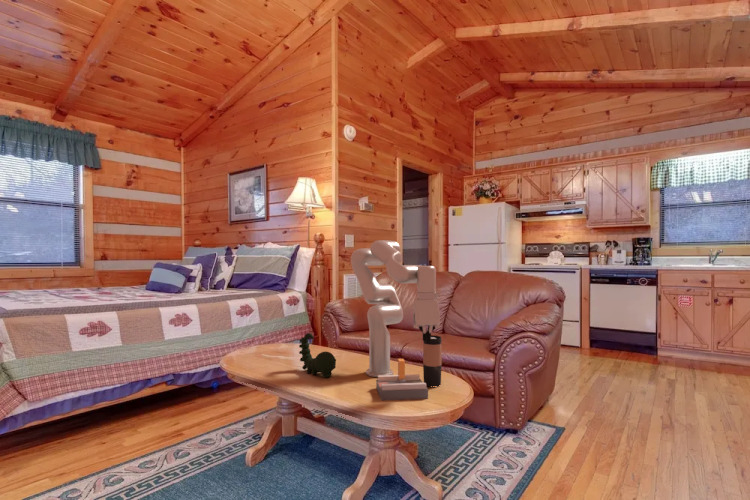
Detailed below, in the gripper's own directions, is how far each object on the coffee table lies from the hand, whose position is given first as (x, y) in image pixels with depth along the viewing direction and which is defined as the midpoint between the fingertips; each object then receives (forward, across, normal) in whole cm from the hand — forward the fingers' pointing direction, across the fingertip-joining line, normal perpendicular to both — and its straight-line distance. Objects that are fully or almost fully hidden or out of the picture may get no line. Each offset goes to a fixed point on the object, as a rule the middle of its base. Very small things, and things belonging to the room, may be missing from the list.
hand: (426, 342), depth 159 cm
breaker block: (+20, +10, 0) cm, 22 cm away
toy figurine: (+19, +43, -30) cm, 56 cm away
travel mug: (+20, -5, -10) cm, 23 cm away
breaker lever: (+16, +10, -1) cm, 19 cm away
